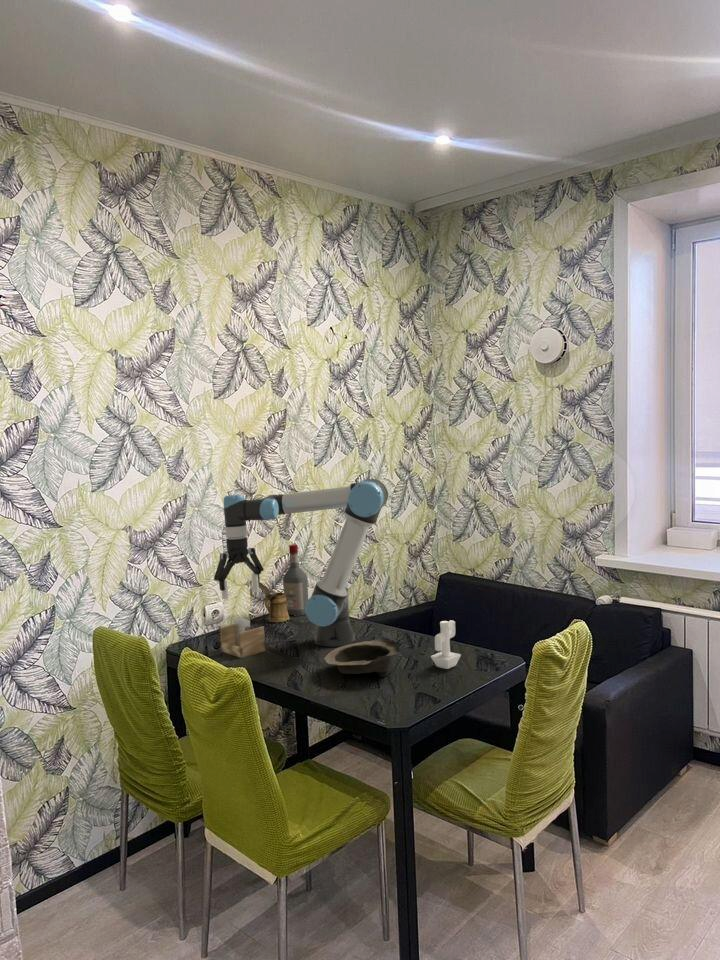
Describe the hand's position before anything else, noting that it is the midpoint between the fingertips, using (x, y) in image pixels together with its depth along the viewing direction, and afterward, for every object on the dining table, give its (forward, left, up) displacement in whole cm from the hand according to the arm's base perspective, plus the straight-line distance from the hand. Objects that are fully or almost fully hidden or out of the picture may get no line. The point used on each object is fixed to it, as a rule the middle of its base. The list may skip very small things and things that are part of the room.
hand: (240, 595), depth 268 cm
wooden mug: (+24, -33, -21) cm, 46 cm away
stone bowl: (-51, -11, -21) cm, 56 cm away
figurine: (-69, -32, -21) cm, 79 cm away
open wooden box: (0, 0, -21) cm, 21 cm away
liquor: (+26, -47, -21) cm, 58 cm away
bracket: (0, 0, -20) cm, 20 cm away
